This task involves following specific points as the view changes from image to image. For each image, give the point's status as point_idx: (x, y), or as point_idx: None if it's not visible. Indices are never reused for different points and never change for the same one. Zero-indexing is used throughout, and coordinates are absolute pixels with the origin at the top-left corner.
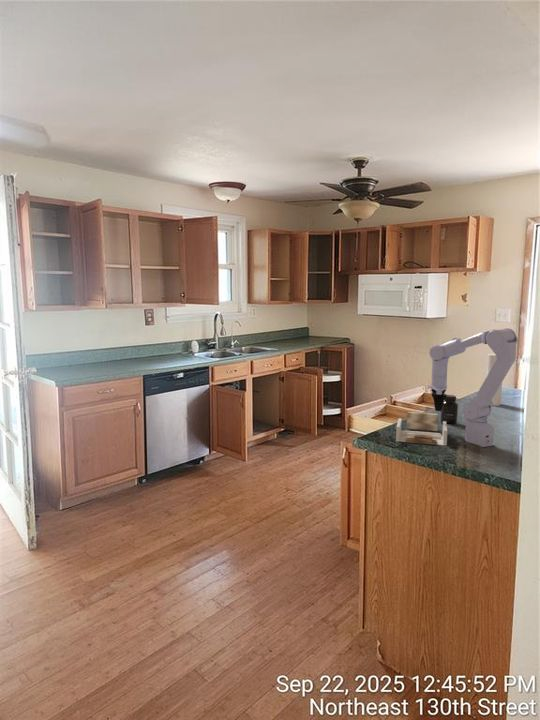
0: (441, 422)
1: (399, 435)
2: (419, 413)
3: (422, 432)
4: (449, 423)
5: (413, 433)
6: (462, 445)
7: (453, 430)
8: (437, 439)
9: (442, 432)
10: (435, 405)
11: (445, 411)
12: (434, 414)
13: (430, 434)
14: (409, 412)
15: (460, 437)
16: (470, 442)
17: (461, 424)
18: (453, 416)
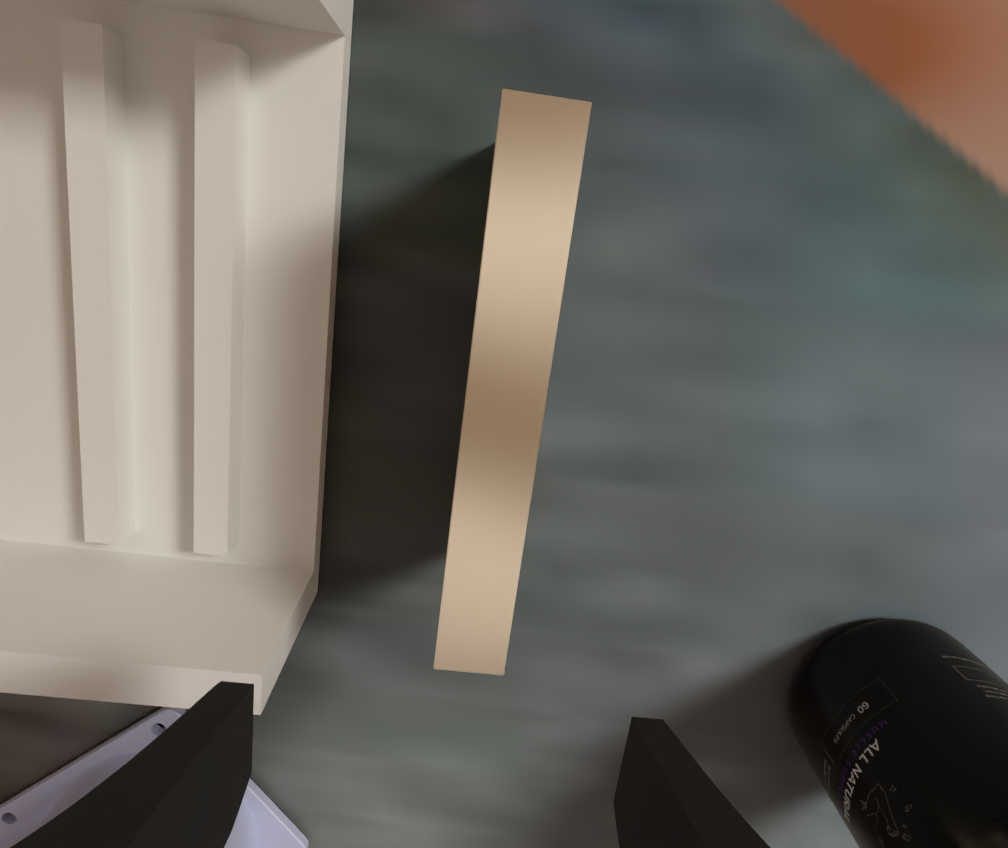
0: (862, 626)
1: None
2: (483, 356)
3: (195, 336)
4: (794, 702)
5: (102, 199)
6: (30, 701)
7: (578, 698)
8: (67, 490)
9: (287, 583)
10: (140, 771)
11: (908, 774)
12: (455, 613)
13: (201, 433)
14: (543, 148)
15: (319, 724)
16: (66, 789)
17: (824, 801)
18: (838, 809)
